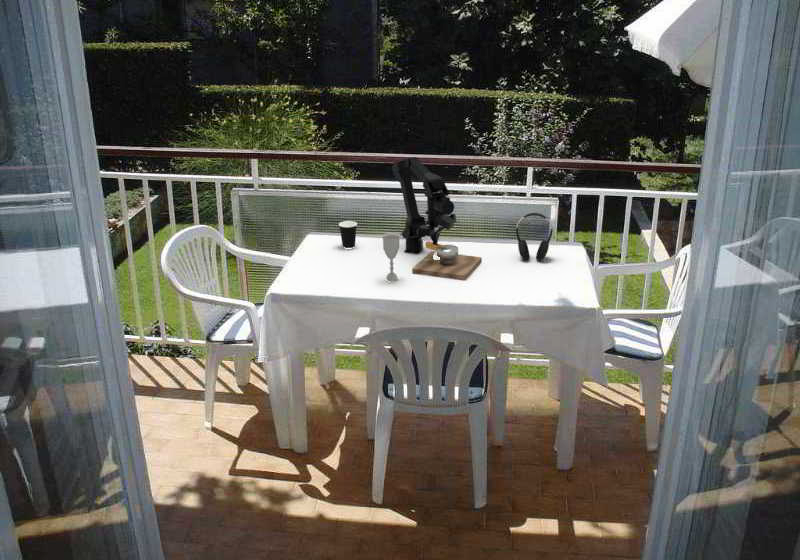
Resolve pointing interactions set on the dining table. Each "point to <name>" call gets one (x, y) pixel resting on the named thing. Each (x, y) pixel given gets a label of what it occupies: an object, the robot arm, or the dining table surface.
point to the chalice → (391, 251)
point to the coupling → (443, 250)
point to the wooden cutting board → (447, 266)
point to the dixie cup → (348, 233)
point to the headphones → (542, 248)
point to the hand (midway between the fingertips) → (435, 244)
